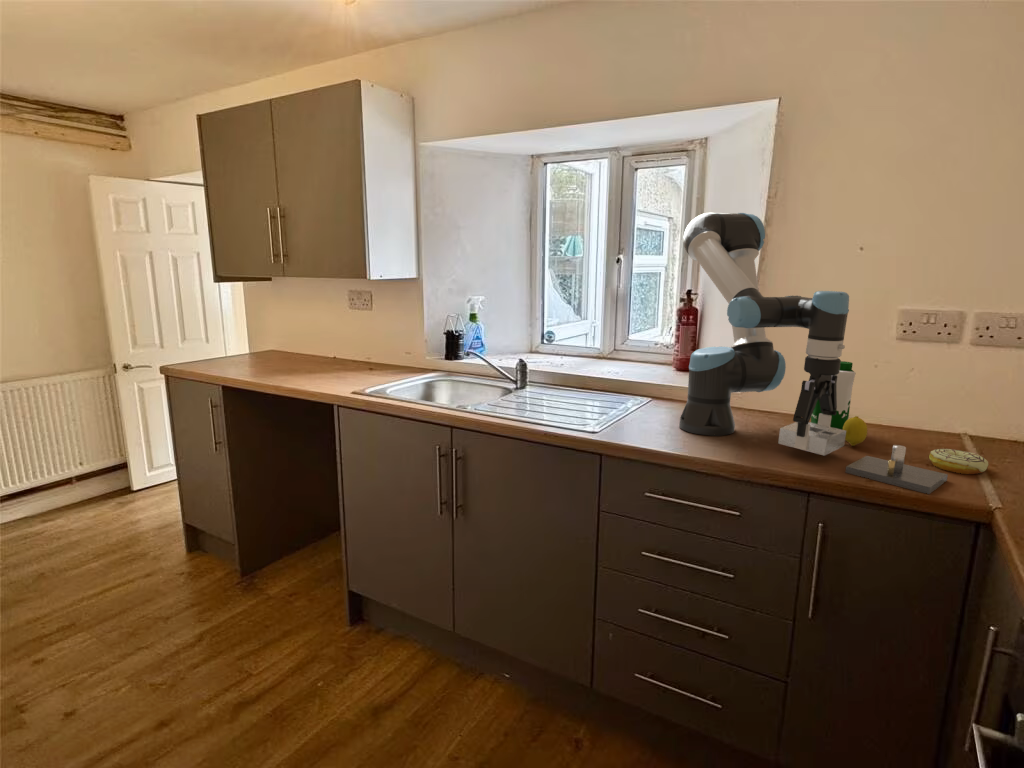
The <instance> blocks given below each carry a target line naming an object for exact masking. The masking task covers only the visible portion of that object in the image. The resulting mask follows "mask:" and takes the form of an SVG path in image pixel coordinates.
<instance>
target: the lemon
mask: <svg viewBox="0 0 1024 768" xmlns="http://www.w3.org/2000/svg"><path fill="white" fill-rule="evenodd" d="M843 430H846V436H845V442H847V443H849V444H850V445H851V446H853V447H855V446H856V445H858V444H861V443H863V442H864V441H865V439H866V438H867V435H868V425H867V423H866V422H865V420H864V419H862V418H860V417H859V415H858V416H857V415H855V416H853V417H849V418H848V420H847V421H846V422H845V423H844V426H843Z"/></svg>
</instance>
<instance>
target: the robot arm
mask: <svg viewBox="0 0 1024 768" xmlns="http://www.w3.org/2000/svg"><path fill="white" fill-rule="evenodd" d="M765 239H766V230H765V226H764V224H763V221H762V220H761V218H760V217H758V216H757V215H755V214H752V213H746V212H738V213H730V212H729V213H727V212H724V213H723V212H704V213H702V214H699V215H697V216H696V217H695V218H693V219H692V220H691V221H690V222H689V223H688V224H687V226H686V228H685V230H684V233H683V238H682V240H683V242H682V243H683V247H684V249H685V251H686V253H687V255H688V256H689V258H691V259H692V260H693V261H696V262H698V263H699V265H700V266H701V268H702V269H703V271H704V272H705V273H706V274H707V276H708V277H709V279H710V281H712V283H713V285H715V287H716V289H717V290H718V291H719V292H720V294H721V295H722V297H724V299H725V301H726V302H727V303H728V305H727V310H726V315H727V318H728V320H727V321H728V323H730V325H731V327H732V336H733V344H732V345H731V346H729V347H728V346H710V347H702V348H699V349H695V351H693V352H692V353H691V354H690V359H689V365H688V371H689V372H688V382H687V383H688V385H687V400H686V404H685V405H684V408H683V411H682V413H681V414H680V418H679V423H678V424H679V428H680V429H681V430H683V431H685V432H688V433H691V434H696V435H702V436H713V437H715V436H716V437H717V436H728V435H732V434H734V433H735V429H736V423H735V420H734V419H735V418H734V415H733V414H734V413H733V411H732V407H731V399H732V398H731V397H732V395H731V394H732V393H749V392H750V393H751V392H752V393H753V392H755V393H761V392H769V391H773V390H775V389H777V387H779V386H780V385H781V383H782V380H783V379H784V377H785V375H786V368H787V367H786V360H785V357H784V355H783V354H782V352H780V351H778V350H776V349H775V350H774V343H773V341H771V340H770V339H769V338H768V337H767V336H766V329H765V328H803V329H807V330H808V334H807V340H806V348H805V353H806V355H807V356H805V359H804V365H803V370H804V372H806V373H808V374H809V378H808V380H804V379H803V380H802V382H801V386H800V387H801V389H800V393H799V396H798V400H797V403H796V407H795V409H794V410H795V411H794V414H793V418H792V421H793V423H795V422H797V430H796V438H795V446H794V447H793V448H794V449H797V448H798V450H801V449H802V450H801V451H805V452H807V451H806V450H807V446H808V439H809V431H810V424H808V423H809V422H811V415H812V413H813V410H814V408H815V405H816V403H817V400H819V402H820V408H821V412H822V413H823V414H822V413H820V414H819V418H818V424H819V425H824V426H828V427H830V424H831V417H832V416H831V415H836V413H837V411H836V410H837V391H836V383H837V374H839V371H840V364H841V361H842V360H841V359H840V357H842V354H843V350H844V349H845V347H846V346H845V344H844V340H845V333H846V328H847V327H846V326H847V321H848V314H849V312H850V309H849V307H850V306H849V305H850V296H849V293H847V292H845V291H835V290H834V291H833V290H818V291H815V292H814V293H813V295H812V297H806V296H805V297H804V296H801V295H786V296H764V295H763V294H762V293H761V292H760V289H759V283H758V276H757V268H756V263H755V260H756V258H758V256H759V255H760V252H759V251H760V250H762V248H763V245H764V244H765V241H764V240H765ZM832 405H833V406H832Z"/></svg>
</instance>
